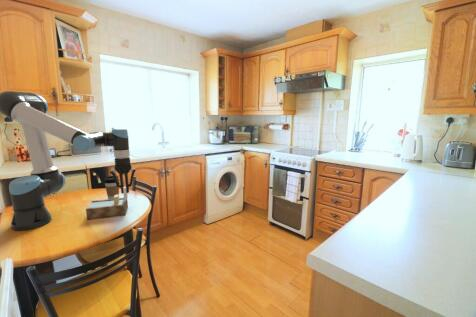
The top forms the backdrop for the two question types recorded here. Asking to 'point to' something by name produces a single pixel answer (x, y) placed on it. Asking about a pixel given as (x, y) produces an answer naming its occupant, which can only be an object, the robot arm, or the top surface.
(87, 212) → the box
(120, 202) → the lid
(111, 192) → the coffee cup
